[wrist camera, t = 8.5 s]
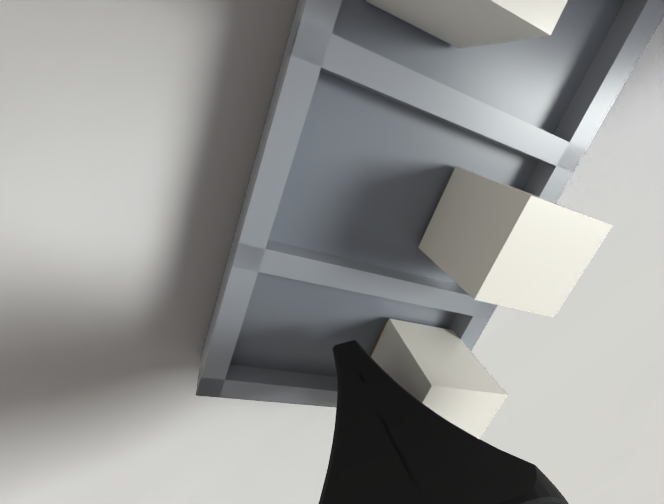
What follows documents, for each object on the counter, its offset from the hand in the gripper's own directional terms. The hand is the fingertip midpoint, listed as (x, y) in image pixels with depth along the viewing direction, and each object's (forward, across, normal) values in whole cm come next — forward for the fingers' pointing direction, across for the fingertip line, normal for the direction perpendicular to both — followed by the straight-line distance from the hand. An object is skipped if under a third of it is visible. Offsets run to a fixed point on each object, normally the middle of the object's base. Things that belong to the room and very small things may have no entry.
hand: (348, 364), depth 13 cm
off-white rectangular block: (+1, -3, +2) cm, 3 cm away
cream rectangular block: (+1, -5, -4) cm, 7 cm away
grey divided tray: (+3, -3, -5) cm, 6 cm away
